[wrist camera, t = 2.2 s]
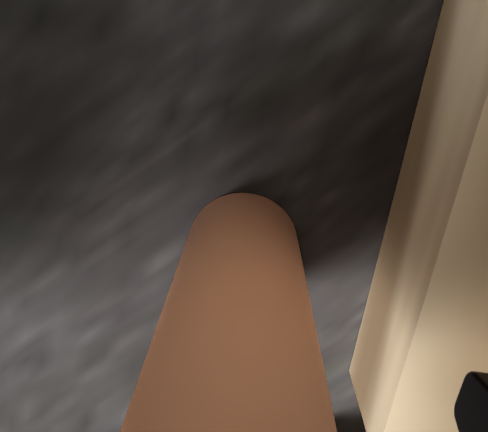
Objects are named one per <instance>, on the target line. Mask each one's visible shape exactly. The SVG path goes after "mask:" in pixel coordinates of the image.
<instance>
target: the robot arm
mask: <svg viewBox="0 0 488 432" xmlns="http://www.w3.org/2000/svg"><path fill="white" fill-rule="evenodd" d="M454 417H455V421H456V424H457V428H458V431H459V432H488V373H485V372H477V371H470V372H468V373H467V374H466V376H465V378H464V380H463V383H462V386H461V388H460V391H459V394H458V396H457V399H456V402H455V405H454Z"/></svg>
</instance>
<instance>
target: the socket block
mask: <svg viewBox="0 0 488 432" xmlns="http://www.w3.org/2000/svg"><path fill="white" fill-rule="evenodd" d="M470 371H477V372H485V373H488V0H444V2H443V6H442V10H441V14H440V17H439V21H438V25H437V29H436V33H435V37H434V41H433V45H432V49H431V53H430V57H429V61H428V64H427V68H426V72H425V76H424V80H423V84H422V88H421V92H420V96H419V100H418V104H417V107H416V111H415V115H414V119H413V123H412V127H411V131H410V135H409V139H408V143H407V147H406V151H405V154H404V158H403V162H402V166H401V170H400V174H399V178H398V182H397V186H396V190H395V194H394V198H393V201H392V205H391V209H390V213H389V217H388V221H387V225H386V229H385V233H384V237H383V241H382V244H381V248H380V252H379V256H378V260H377V264H376V268H375V272H374V276H373V280H372V284H371V288H370V291H369V295H368V299H367V303H366V307H365V311H364V315H363V319H362V323H361V327H360V331H359V334H358V338H357V342H356V346H355V350H354V354H353V358H352V362H351V366H350V370H349V372H350V375H351V379H352V383H353V386H354V390H355V393H356V397H357V400H358V404H359V408H360V411H361V415H362V418H363V422H364V426H365V429H366V432H459V431H458V428H457V424H456V421H455V417H454V405H455V402H456V399H457V396H458V394H459V391H460V388H461V386H462V383H463V380H464V378H465V376H466V374H467V373H468V372H470Z"/></svg>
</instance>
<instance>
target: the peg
mask: <svg viewBox="0 0 488 432" xmlns="http://www.w3.org/2000/svg"><path fill="white" fill-rule="evenodd" d="M120 432H337V429H336V424H335V419H334V414H333V409H332V404H331V400H330V395H329V390H328V385H327V380H326V375H325V370H324V365H323V361H322V356H321V351H320V346H319V341H318V336H317V331H316V326H315V322H314V317H313V312H312V307H311V302H310V297H309V292H308V287H307V283H306V278H305V273H304V268H303V263H302V258H301V253H300V248H299V243H298V239H297V234H296V230H295V227H294V224H293V222H292V220H291V219H290V217H289V216H288V214H287V213H286V212H285V211H284V210H283V209H282V208H281V207H280V206H279V205H278V204H276V203H275V202H273V201H272V200H270V199H268V198H266V197H263V196H260V195H257V194H252V193H233V194H228V195H225V196H222V197H219V198H217V199H215V200H213V201H212V202H210V203H209V204H208V205H206V206H205V207H204V208H203V209H202V210H201V211H200V212H199V213H198V215H197V216H196V218H195V220H194V222H193V224H192V226H191V229H190V232H189V235H188V238H187V241H186V244H185V246H184V249H183V252H182V255H181V258H180V261H179V264H178V267H177V269H176V272H175V275H174V278H173V281H172V284H171V287H170V290H169V293H168V295H167V298H166V301H165V304H164V307H163V310H162V313H161V316H160V319H159V321H158V324H157V327H156V330H155V333H154V336H153V339H152V342H151V344H150V347H149V350H148V353H147V356H146V359H145V362H144V365H143V368H142V370H141V373H140V376H139V379H138V382H137V385H136V388H135V391H134V393H133V396H132V399H131V402H130V405H129V408H128V411H127V414H126V417H125V419H124V422H123V425H122V428H121V431H120Z"/></svg>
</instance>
